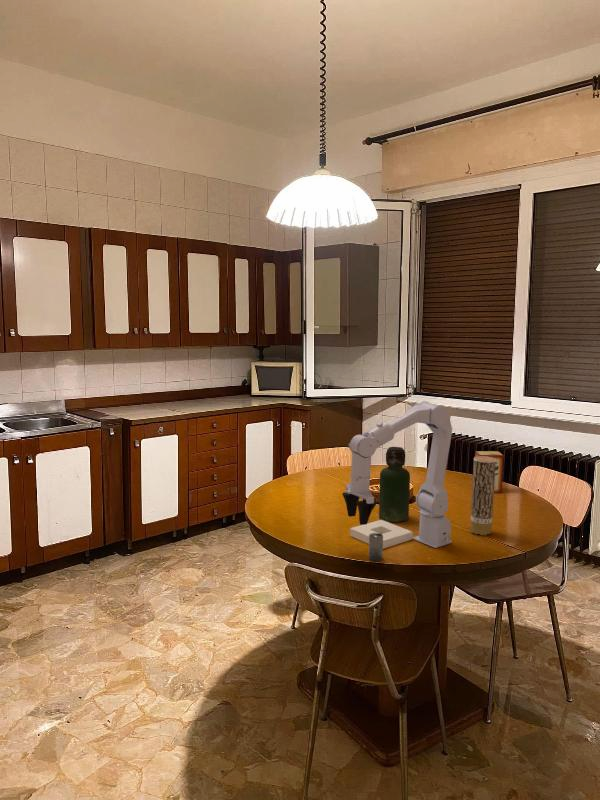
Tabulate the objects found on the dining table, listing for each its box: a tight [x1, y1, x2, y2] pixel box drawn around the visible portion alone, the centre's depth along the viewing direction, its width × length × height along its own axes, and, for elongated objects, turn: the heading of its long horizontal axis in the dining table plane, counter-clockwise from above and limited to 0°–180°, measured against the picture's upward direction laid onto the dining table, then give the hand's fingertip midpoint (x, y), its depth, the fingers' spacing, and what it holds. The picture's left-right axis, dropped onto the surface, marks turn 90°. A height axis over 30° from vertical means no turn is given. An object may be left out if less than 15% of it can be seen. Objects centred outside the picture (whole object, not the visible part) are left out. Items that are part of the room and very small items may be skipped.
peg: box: [368, 533, 384, 562], centre depth 177 cm, size 4×4×7 cm
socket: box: [349, 519, 414, 549], centre depth 194 cm, size 14×14×2 cm
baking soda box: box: [474, 450, 505, 494], centre depth 245 cm, size 10×6×16 cm
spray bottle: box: [378, 446, 411, 523], centre depth 211 cm, size 10×10×25 cm
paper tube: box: [469, 456, 496, 536], centre depth 197 cm, size 7×7×25 cm
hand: (357, 520), depth 181 cm, fingers open, 7 cm apart
